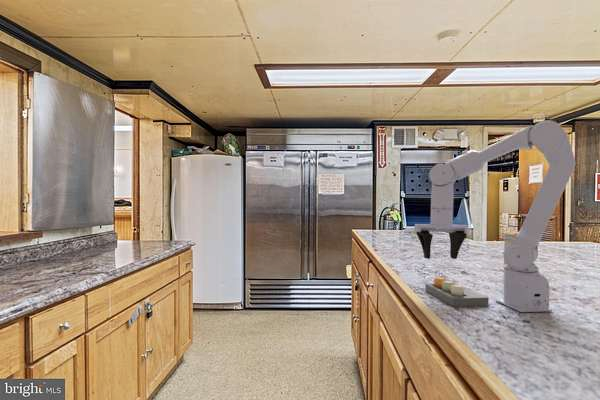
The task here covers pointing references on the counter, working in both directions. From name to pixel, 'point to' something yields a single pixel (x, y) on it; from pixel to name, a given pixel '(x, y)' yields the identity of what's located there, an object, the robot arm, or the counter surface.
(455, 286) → the button ivory
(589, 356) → the counter surface
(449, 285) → the button sage
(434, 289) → the panel
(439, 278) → the button orange
